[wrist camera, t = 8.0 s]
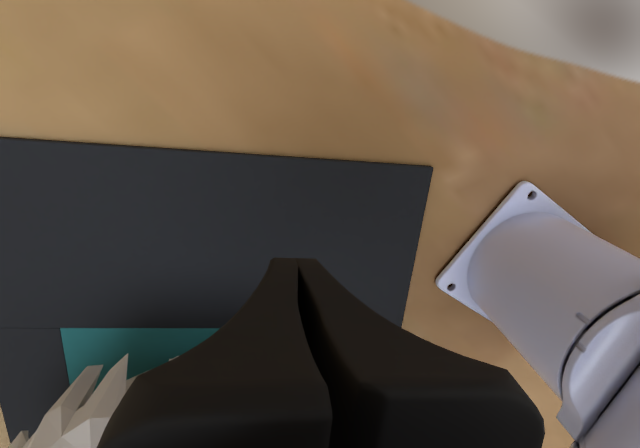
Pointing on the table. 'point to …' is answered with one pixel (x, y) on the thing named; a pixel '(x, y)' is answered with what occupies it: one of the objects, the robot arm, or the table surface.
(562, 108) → the table surface
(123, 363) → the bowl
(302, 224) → the mat
